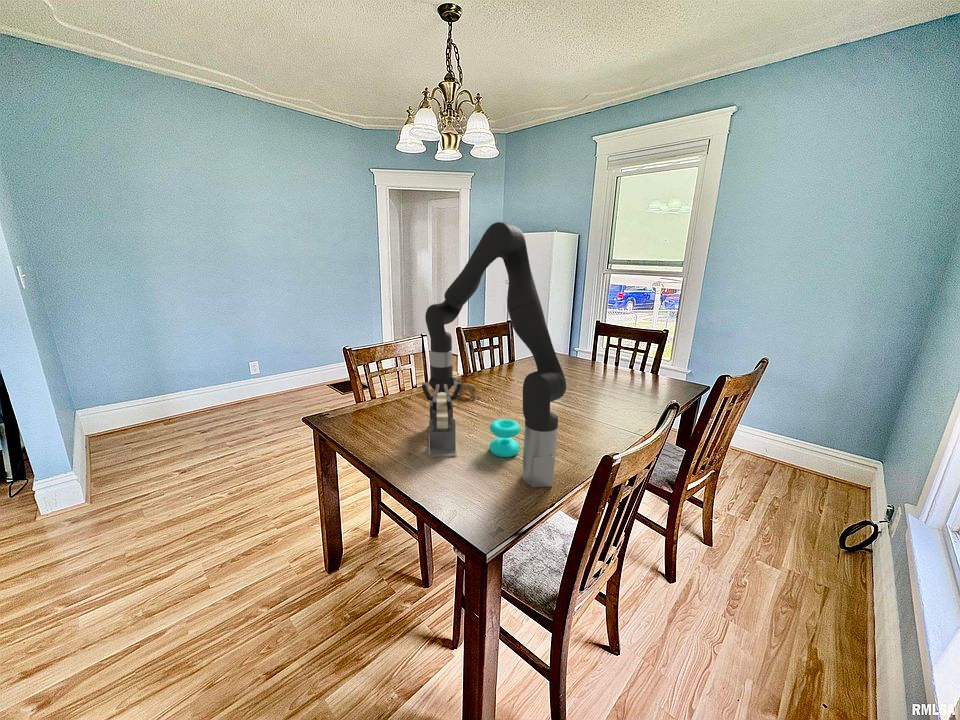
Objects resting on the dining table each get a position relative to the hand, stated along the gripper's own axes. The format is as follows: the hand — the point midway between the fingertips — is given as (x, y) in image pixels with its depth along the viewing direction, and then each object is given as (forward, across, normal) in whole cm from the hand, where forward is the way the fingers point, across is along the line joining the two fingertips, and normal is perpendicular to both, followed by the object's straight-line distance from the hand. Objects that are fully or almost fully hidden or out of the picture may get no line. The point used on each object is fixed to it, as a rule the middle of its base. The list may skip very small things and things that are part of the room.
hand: (441, 410), depth 132 cm
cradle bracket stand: (+11, 0, 0) cm, 11 cm away
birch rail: (+1, 0, 0) cm, 1 cm away
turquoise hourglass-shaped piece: (+11, +20, -10) cm, 25 cm away
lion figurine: (+11, +11, +42) cm, 45 cm away
